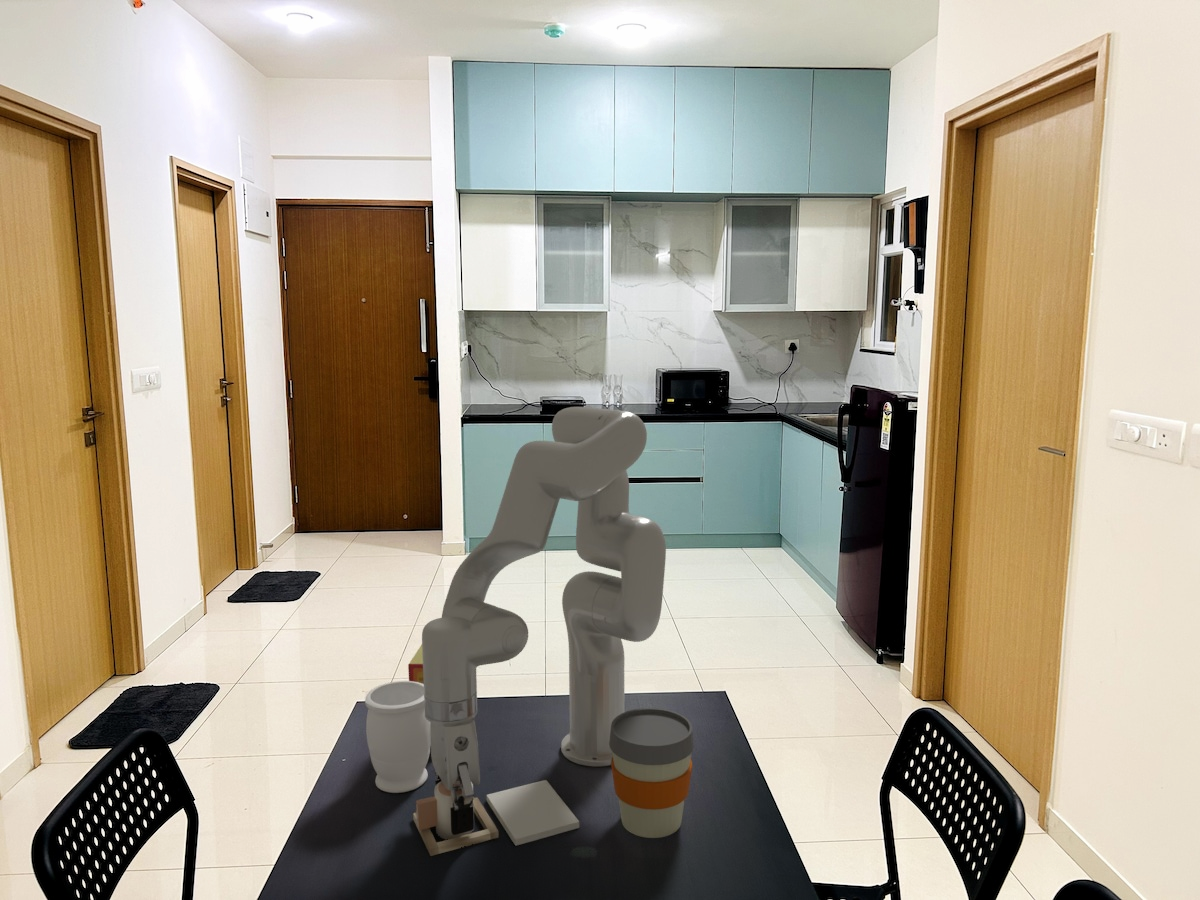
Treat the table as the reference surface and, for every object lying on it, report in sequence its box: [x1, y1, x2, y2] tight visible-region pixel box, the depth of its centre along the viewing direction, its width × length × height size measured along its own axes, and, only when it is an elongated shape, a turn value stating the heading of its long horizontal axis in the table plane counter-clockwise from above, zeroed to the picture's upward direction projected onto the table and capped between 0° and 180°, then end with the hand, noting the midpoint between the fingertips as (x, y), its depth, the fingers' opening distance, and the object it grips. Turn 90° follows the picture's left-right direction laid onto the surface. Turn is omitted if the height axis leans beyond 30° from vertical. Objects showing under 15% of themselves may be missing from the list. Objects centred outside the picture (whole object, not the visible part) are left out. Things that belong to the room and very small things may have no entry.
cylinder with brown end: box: [415, 781, 475, 840], centre depth 127 cm, size 8×6×7 cm
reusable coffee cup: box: [609, 707, 695, 839], centre depth 128 cm, size 13×13×15 cm
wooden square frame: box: [412, 797, 499, 857], centre depth 128 cm, size 10×10×1 cm
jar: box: [364, 680, 431, 794], centre depth 140 cm, size 11×10×15 cm
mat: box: [486, 779, 580, 846], centre depth 131 cm, size 10×13×1 cm
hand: (454, 816), depth 127 cm, fingers open, 7 cm apart
